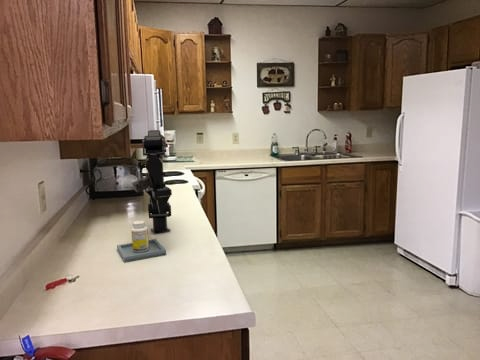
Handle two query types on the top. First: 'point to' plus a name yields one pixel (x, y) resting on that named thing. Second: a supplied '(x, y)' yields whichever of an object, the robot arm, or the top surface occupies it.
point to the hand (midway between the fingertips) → (158, 211)
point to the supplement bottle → (140, 236)
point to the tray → (131, 255)
